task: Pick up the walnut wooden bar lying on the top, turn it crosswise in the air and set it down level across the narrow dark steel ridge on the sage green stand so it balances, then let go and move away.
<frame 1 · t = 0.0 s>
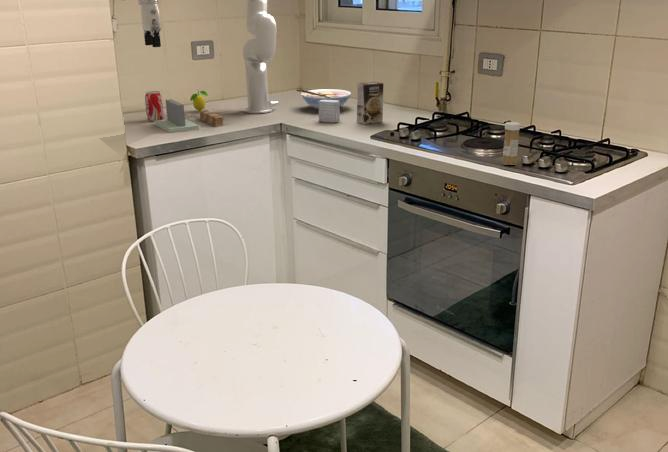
hand: (153, 46, 262), 31 cm above the table, tool pointing down, fingers open, 9 cm apart
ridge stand: (176, 126, 265), on the table
lemon: (200, 111, 296), on the table
medicine box: (329, 121, 273), on the table
walnut bar: (211, 123, 273), on the table
coffee box: (369, 122, 270), on the table
ramen bowl: (326, 109, 298), on the table
soda can: (155, 120, 278), on the table
sprinkles bottle: (509, 165, 207), on the table
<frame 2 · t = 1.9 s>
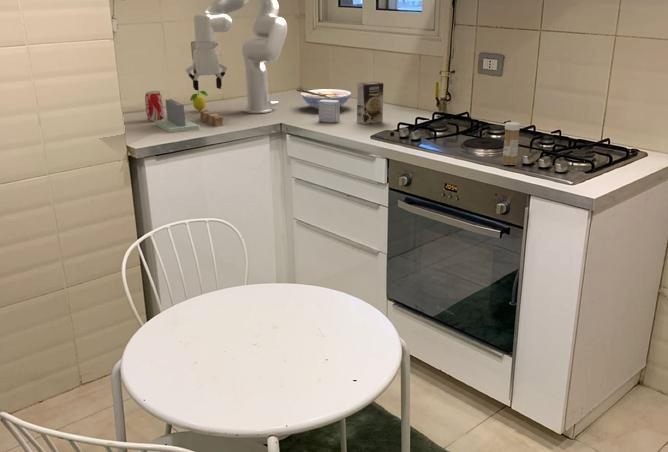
hand: (207, 89, 267), 14 cm above the table, tool pointing down, fingers open, 9 cm apart
nothing on the table moved.
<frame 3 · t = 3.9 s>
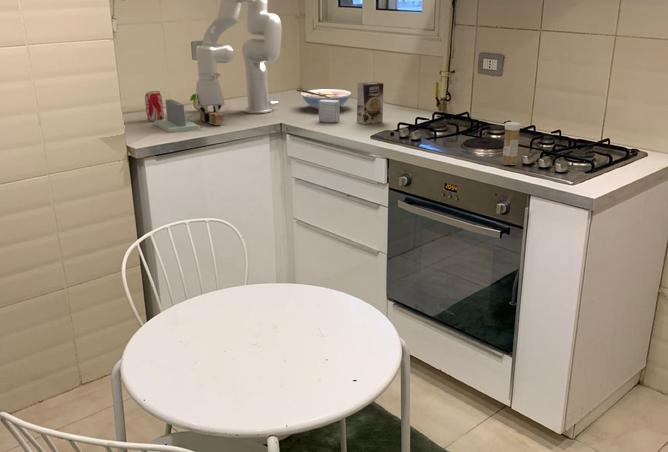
hand: (211, 121, 273), 0 cm above the table, tool pointing down, fingers closed on walnut bar, 2 cm apart
walnut bar: (211, 121, 273), on the table, touching gripper
everything else where it was.
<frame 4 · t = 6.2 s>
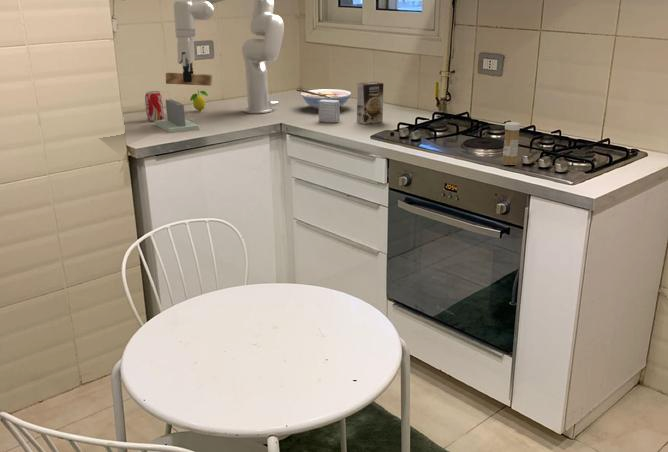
hand: (188, 80, 262), 18 cm above the table, tool pointing down, fingers closed on walnut bar, 3 cm apart
walnut bar: (189, 84, 263), point 17 cm above the table, touching gripper
everything else where it was.
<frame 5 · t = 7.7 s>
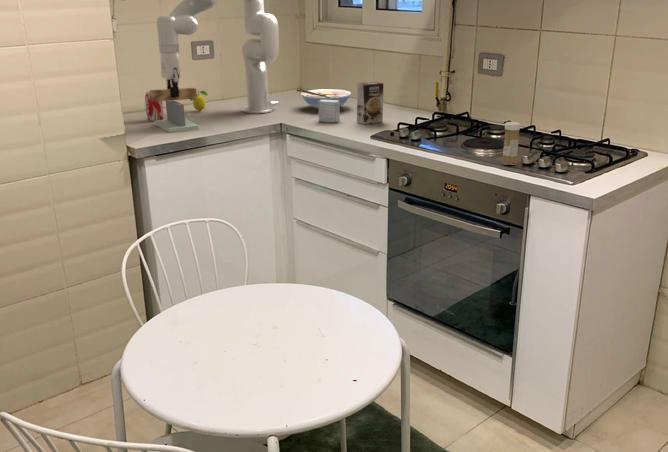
hand: (173, 96, 261), 12 cm above the table, tool pointing down, fingers closed on walnut bar, 3 cm apart
walnut bar: (174, 99, 261), point 11 cm above the table, touching gripper
everything else where it was.
when the fingers open (12 cm above the table, at t = 8.5 s): walnut bar stays where it is, resting on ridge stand.
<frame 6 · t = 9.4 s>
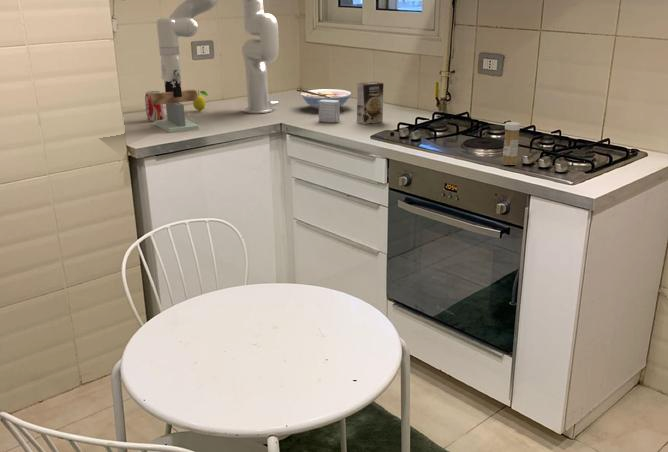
hand: (173, 95, 261), 13 cm above the table, tool pointing down, fingers open, 9 cm apart
walnut bar: (174, 102, 262), point 10 cm above the table, touching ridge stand
everything else where it was.
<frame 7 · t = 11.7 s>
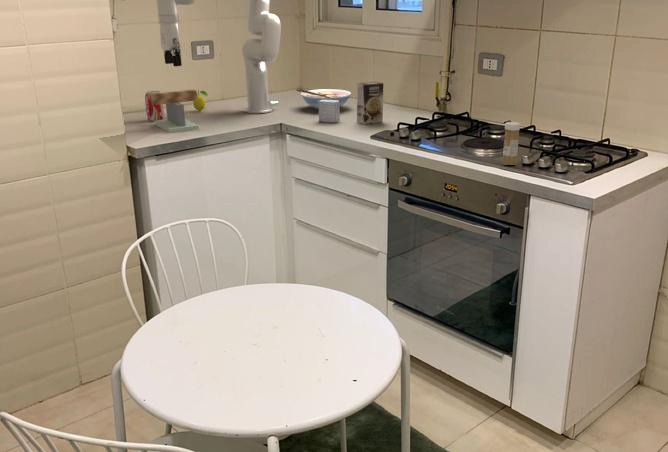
hand: (173, 64, 258), 24 cm above the table, tool pointing down, fingers open, 9 cm apart
nothing on the table moved.
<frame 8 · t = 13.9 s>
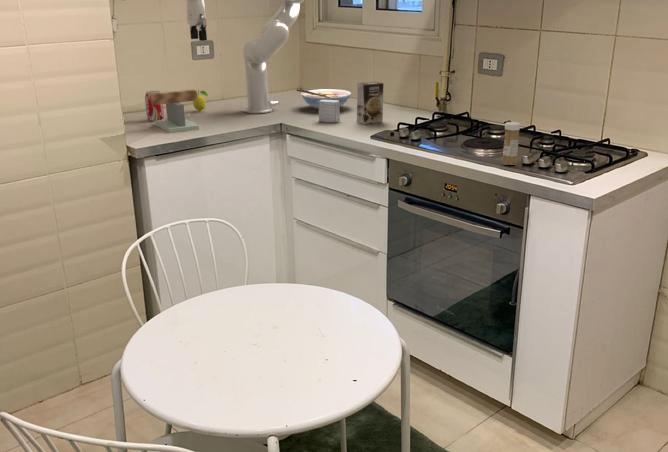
hand: (198, 39, 275), 32 cm above the table, tool pointing down, fingers open, 9 cm apart
nothing on the table moved.
at the end: walnut bar 0.2 cm off-centre on the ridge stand, point 10.0 cm above the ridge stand's base; walnut bar tilted 0°; the gripper is holding nothing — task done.
